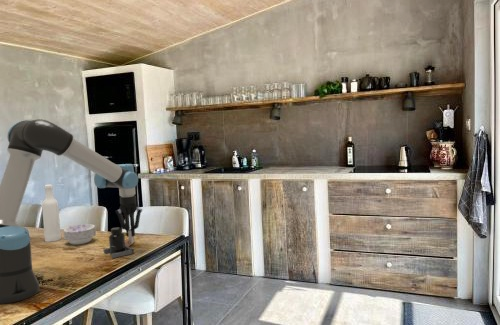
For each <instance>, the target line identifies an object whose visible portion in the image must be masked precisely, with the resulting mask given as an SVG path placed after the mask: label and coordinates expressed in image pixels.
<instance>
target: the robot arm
mask: <svg viewBox="0 0 500 325" xmlns="http://www.w3.org/2000/svg"><path fill="white" fill-rule="evenodd" d="M7 141H8V146H7V149H6V150H7V152H8V153H9V156H8V160H7V164H6V167H5V170H4V172H3V175H2V179H1V181H0V304H10V303H11V304H12V303H17V302H19V301H24V300H26V299H28V298H31V297H33V296H35V295H37V294H38V293H39V292H40V289H41V288H40V282H39V280H38V279H37V277H36V274H35V272H34V270H33V262H32V261H33V259H32V246H31V235H30V231H29V230H28V228H26V227H25V226H24V227H23V226H20V225H19V224H18V223H17V218H18V214H19V212H20V209H21V205H22V202H23V199H24V195H25V193H26V189H27V186H28V184H29V181H30V177H31V175H32V171H33V168H34V165H35V163H36V162H35V161H37V160H40V159H41V157H42V154H43V151H47V152H50V153H53V154H55V155H56V156H58V157H59V156H60V157H61V156H64V157H66V158H67V159H69V160H71V161H73V162H74V163H77V164H78V165H79V166H81V167H84V168H85V169H88V170H89V171H91V172H93V173H94V177H93V183H94V184H95V186H96V187H97V188H99V189H105V188H118V191H119V193H118V194H119V204H120V206H119V209H117V210H115V212H114V213H115V214H116V215H117V218H118V221H119V223H120V228H122V230H125V231H126V232H125V233H126V237H127V238H129V244H132V243H133V242H134V243H135V238H134V239H133V237H135V236H136V229H138V228H139V226H140V225H139V224H140V218H141V213H142V212H143V208H139V207H138V206H139V205H138V204H137V196H136V194H137V193H136V187H137V185H138V183H139V176H138V174H137V173H136V172H135V169H134V165H133V164H132V163H125V164H124V163H122V164H118V165H117V164H116V163H114V162H112V161H111V160H109V159H108V158H106V157H104V156H103V155H101V154H99V153H98V152H96V151H94V150H92V148H90V147H88V146H87V145H85V144H83V143H81V142H80V141H79V140H77V139H75V138H74V135H73V134H71V132H69V131H67V130H65V129H64V128H62V127H60V126H58V125H57V124H56V123H53V122H52V121H49V120H46V119H39V118H38V119H37V118H36V119H31V120H29V119H28V120H27V119H26V120H25V119H24V120H21V121H19V122H16V123H14V124H12V126H11V127H10V128H9V129H8V132H7ZM135 212H136V216H135ZM134 243H133V244H134ZM133 244H132V245H133Z"/></svg>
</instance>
